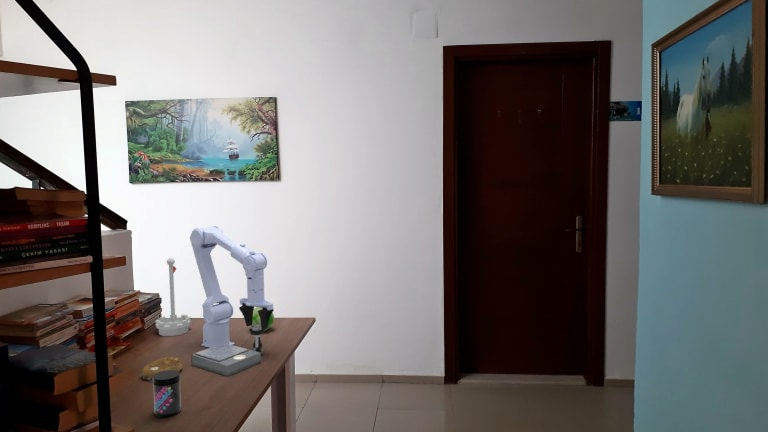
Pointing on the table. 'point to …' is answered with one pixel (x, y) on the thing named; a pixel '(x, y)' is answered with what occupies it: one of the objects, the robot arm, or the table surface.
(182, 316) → the flag stand
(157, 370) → the decorative rock
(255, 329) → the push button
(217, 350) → the weighing pan
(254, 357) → the scale housing
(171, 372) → the supplement container
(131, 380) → the table surface
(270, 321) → the decorative ball
